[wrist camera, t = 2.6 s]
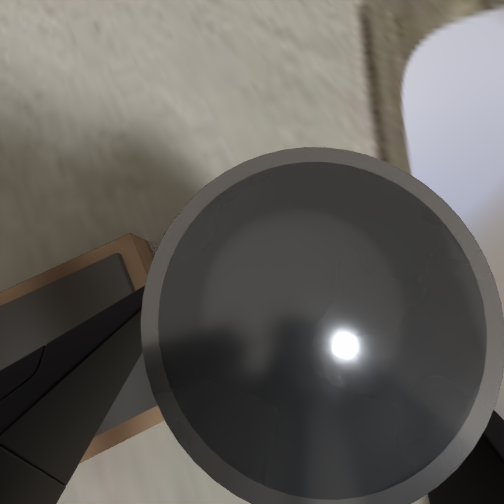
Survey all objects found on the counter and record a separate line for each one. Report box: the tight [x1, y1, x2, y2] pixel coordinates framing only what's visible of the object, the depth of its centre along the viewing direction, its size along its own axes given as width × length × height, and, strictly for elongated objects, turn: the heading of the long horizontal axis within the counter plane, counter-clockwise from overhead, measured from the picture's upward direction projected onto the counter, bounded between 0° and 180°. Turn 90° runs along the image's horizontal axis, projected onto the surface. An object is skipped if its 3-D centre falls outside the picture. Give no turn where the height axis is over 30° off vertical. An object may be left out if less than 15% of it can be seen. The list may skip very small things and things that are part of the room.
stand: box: [0, 233, 164, 463], centre depth 15 cm, size 11×11×3 cm
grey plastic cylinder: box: [141, 147, 504, 504], centre depth 11 cm, size 7×7×13 cm
